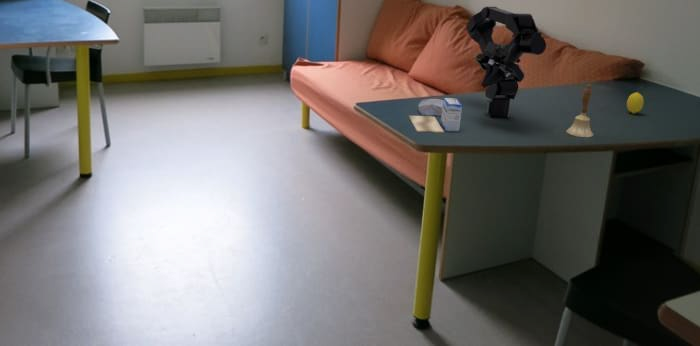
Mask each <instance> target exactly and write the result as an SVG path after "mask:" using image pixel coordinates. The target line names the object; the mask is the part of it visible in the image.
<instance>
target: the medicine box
mask: <svg viewBox="0 0 700 346" xmlns="http://www.w3.org/2000/svg"><path fill="white" fill-rule="evenodd" d="M442 100H443V108H442V116H440V124H441V125H440V126H441V127H442V128H443V130H444V131H446V132H460V126H461V117H462V111H463V105H462V104H461V102H460V101H459V99H457V98H453V97H444V98H443V99H442Z"/></svg>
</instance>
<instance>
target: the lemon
mask: <svg viewBox="0 0 700 346" xmlns="http://www.w3.org/2000/svg"><path fill="white" fill-rule="evenodd" d="M644 102H645V101H644V96H643V95H642V94H640V92H638V91H637V92H633V93H632V94H630V95H629V96H628V99H627V101H626V107H627V109H628V111H629V112H631V114H632V115H634V114H636V113H638V112H640V111H641V110H642V109H643V107H644Z"/></svg>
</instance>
